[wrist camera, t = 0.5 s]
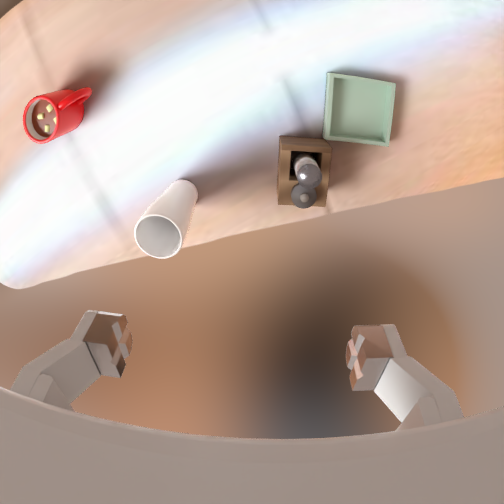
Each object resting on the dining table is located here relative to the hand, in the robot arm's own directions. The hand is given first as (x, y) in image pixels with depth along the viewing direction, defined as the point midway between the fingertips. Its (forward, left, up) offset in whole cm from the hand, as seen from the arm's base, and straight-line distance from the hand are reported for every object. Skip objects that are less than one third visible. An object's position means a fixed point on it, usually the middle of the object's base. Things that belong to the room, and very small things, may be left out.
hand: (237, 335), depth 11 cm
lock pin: (+5, +7, -42) cm, 43 cm away
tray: (-4, +15, -42) cm, 45 cm away
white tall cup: (+12, -12, -42) cm, 45 cm away
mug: (-5, -31, -42) cm, 53 cm away
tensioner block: (+6, +7, -42) cm, 43 cm away
